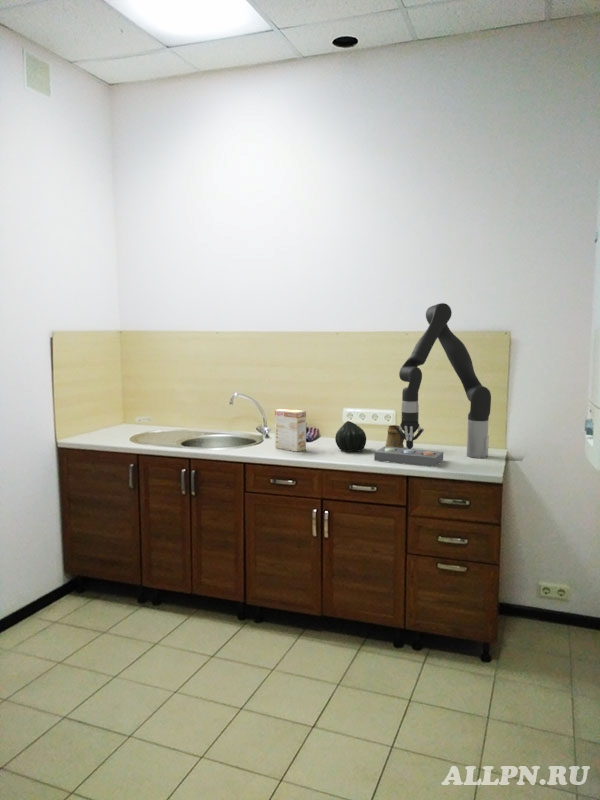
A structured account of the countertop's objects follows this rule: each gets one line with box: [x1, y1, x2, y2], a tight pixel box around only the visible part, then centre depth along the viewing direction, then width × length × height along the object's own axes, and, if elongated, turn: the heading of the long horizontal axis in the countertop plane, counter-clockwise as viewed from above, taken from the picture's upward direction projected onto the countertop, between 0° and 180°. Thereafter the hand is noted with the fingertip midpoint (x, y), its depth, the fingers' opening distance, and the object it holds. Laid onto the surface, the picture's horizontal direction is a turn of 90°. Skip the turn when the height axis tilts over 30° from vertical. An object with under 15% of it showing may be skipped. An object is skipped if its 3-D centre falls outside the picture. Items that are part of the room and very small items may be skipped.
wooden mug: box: [385, 424, 405, 448], centre depth 304 cm, size 9×14×18 cm, turn 62°
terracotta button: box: [423, 452, 434, 456], centre depth 275 cm, size 5×5×3 cm
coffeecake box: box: [274, 408, 307, 452], centre depth 304 cm, size 15×7×20 cm, turn 48°
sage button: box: [385, 448, 395, 452], centre depth 283 cm, size 5×5×3 cm
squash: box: [335, 420, 367, 452], centre depth 301 cm, size 14×15×15 cm
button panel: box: [373, 445, 444, 467], centre depth 279 cm, size 28×14×4 cm, turn 63°
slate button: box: [404, 450, 414, 454], centre depth 279 cm, size 5×5×3 cm
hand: (409, 448), depth 278 cm, fingers closed
